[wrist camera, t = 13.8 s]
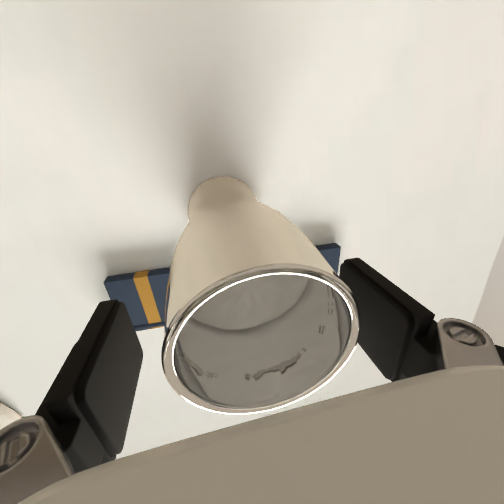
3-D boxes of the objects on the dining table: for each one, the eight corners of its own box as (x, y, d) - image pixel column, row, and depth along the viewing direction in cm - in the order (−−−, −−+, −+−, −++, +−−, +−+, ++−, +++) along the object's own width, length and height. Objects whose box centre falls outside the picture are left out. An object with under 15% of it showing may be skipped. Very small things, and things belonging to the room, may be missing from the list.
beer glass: (177, 170, 19) (129, 269, 5) (264, 169, 20) (393, 248, 7) (186, 251, 22) (171, 435, 9) (261, 245, 23) (346, 399, 10)
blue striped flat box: (127, 327, 24) (124, 335, 23) (107, 276, 21) (102, 283, 20) (330, 290, 27) (335, 296, 26) (335, 242, 25) (341, 247, 24)
